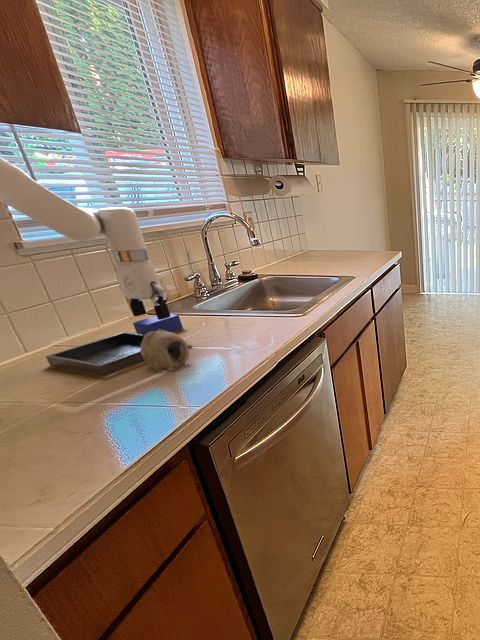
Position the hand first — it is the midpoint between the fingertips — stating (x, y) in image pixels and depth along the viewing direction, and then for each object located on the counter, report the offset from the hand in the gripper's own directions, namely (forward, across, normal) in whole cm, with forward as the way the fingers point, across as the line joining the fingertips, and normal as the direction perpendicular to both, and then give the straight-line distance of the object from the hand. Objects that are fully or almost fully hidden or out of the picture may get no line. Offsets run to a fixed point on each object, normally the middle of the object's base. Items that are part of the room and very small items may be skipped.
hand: (152, 316), depth 115 cm
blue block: (+6, 0, +1) cm, 6 cm away
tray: (+6, +7, -15) cm, 18 cm away
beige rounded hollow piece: (+6, +25, -14) cm, 30 cm away
